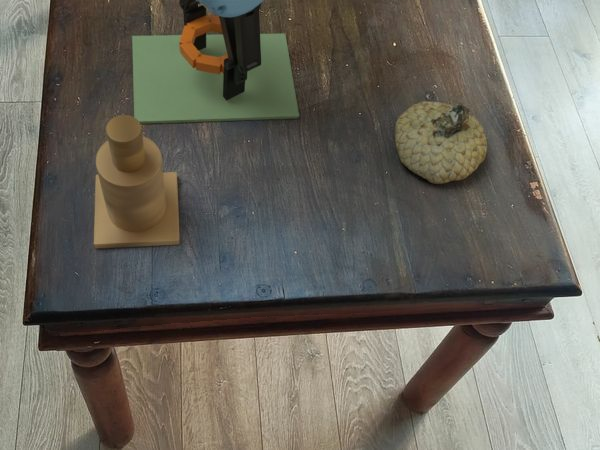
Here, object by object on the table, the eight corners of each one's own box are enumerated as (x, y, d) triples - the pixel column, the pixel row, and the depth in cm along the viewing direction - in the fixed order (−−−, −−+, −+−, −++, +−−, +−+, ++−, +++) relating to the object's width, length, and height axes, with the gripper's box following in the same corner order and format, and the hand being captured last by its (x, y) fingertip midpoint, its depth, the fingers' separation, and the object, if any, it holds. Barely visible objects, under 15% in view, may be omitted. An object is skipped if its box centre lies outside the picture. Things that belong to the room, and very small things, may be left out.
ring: (204, 83, 82) (204, 74, 81) (168, 39, 85) (168, 30, 84) (260, 56, 85) (261, 48, 84) (224, 15, 88) (224, 6, 87)
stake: (94, 248, 76) (71, 169, 63) (96, 179, 80) (75, 91, 67) (179, 244, 77) (174, 166, 64) (177, 176, 81) (171, 90, 68)
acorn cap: (486, 196, 85) (512, 115, 83) (414, 183, 80) (439, 97, 78) (439, 175, 94) (462, 101, 91) (371, 162, 89) (393, 84, 86)
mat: (134, 124, 84) (134, 121, 84) (132, 38, 91) (132, 35, 91) (298, 118, 88) (299, 115, 87) (284, 36, 94) (285, 33, 94)
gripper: (309, -38, 67) (287, 114, 86) (191, -156, 74) (195, 9, 93) (244, -11, 64) (236, 140, 83) (127, -136, 71) (145, 30, 91)
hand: (214, 71), depth 88 cm, fingers closed on ring, 8 cm apart
